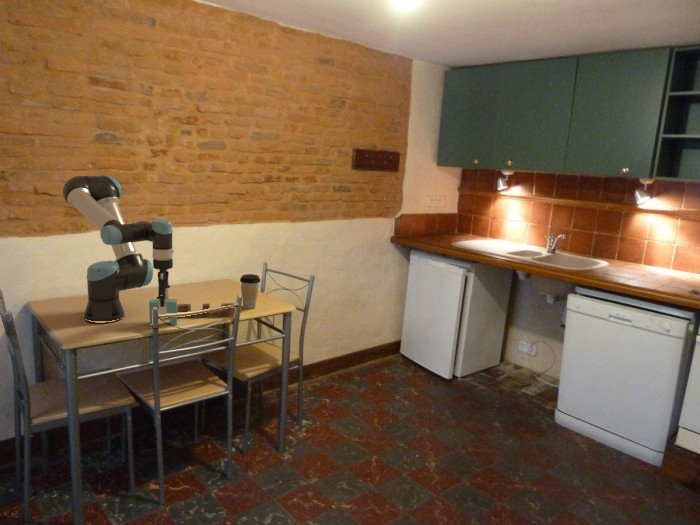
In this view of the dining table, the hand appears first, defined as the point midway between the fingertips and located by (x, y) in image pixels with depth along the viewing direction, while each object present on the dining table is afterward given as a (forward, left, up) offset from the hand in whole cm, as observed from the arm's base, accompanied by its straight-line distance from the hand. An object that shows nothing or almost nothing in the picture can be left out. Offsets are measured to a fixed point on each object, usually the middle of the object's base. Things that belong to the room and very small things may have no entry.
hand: (164, 308), depth 211 cm
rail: (+17, +9, -7) cm, 20 cm away
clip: (0, 0, -7) cm, 7 cm away
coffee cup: (+37, +20, -7) cm, 42 cm away
